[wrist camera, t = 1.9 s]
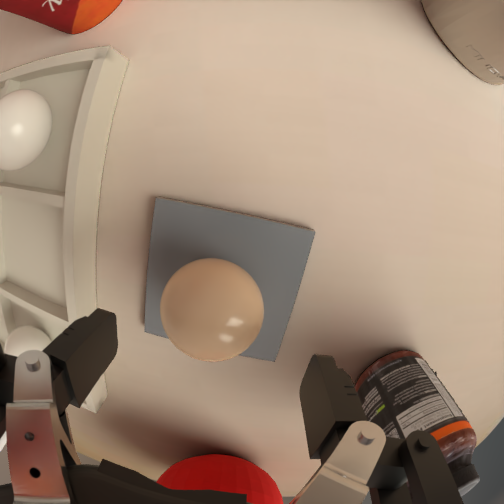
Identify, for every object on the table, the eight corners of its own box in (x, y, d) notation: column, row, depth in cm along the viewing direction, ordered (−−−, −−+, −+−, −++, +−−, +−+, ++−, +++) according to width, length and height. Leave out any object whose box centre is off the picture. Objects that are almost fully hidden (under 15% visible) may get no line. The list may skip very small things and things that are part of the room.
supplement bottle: (411, 396, 17) (462, 500, 6) (345, 411, 17) (378, 536, 6) (431, 339, 15) (514, 451, 4) (357, 354, 16) (419, 507, 5)
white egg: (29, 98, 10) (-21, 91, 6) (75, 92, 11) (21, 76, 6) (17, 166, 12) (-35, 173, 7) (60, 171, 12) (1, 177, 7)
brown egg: (182, 237, 13) (146, 268, 9) (273, 257, 13) (279, 298, 9) (172, 315, 15) (144, 366, 10) (253, 333, 15) (250, 392, 10)
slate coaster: (159, 196, 13) (155, 197, 13) (313, 229, 13) (315, 231, 13) (147, 327, 15) (144, 331, 15) (274, 356, 16) (274, 361, 15)
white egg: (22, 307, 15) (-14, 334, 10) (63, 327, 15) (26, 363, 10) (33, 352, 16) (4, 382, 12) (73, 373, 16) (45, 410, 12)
